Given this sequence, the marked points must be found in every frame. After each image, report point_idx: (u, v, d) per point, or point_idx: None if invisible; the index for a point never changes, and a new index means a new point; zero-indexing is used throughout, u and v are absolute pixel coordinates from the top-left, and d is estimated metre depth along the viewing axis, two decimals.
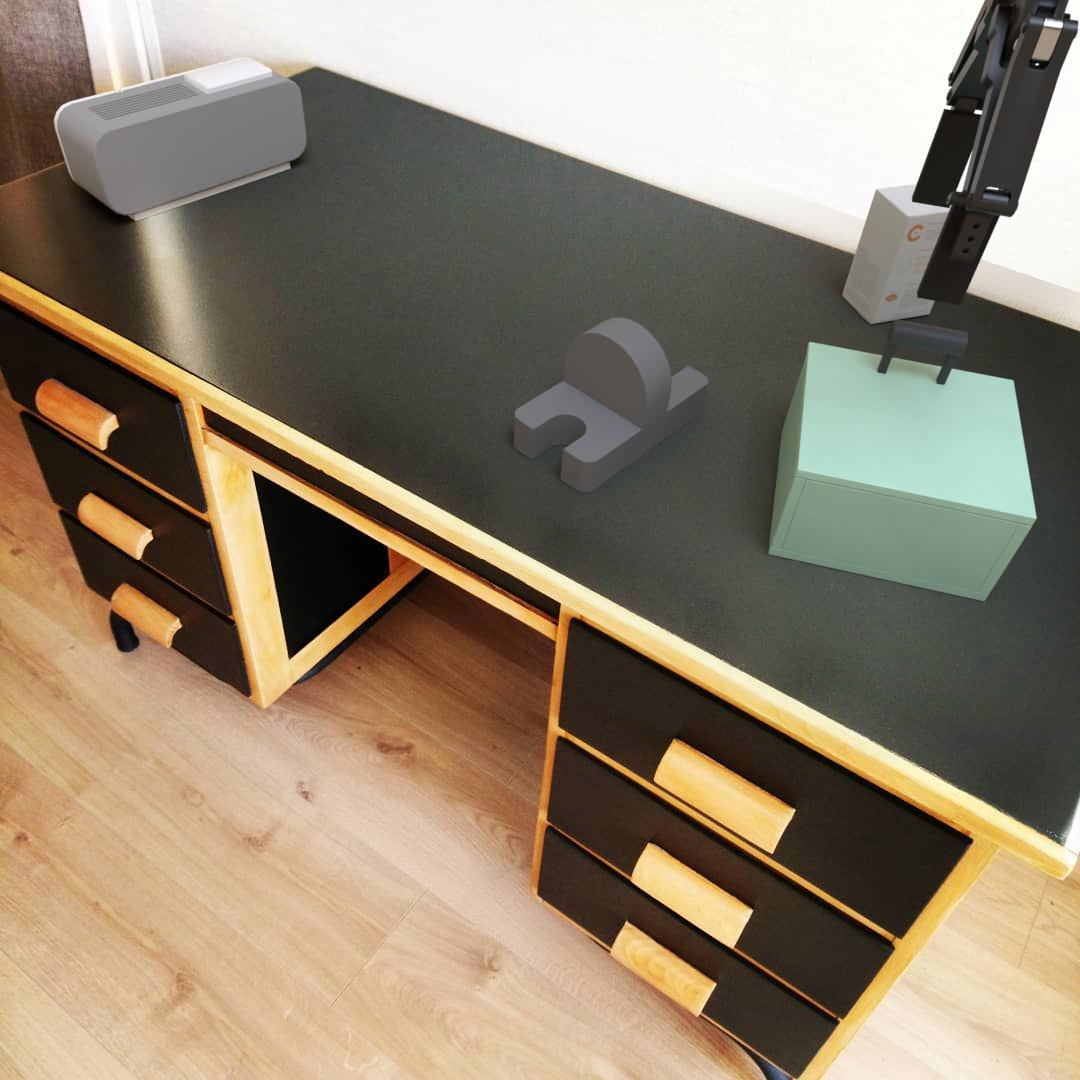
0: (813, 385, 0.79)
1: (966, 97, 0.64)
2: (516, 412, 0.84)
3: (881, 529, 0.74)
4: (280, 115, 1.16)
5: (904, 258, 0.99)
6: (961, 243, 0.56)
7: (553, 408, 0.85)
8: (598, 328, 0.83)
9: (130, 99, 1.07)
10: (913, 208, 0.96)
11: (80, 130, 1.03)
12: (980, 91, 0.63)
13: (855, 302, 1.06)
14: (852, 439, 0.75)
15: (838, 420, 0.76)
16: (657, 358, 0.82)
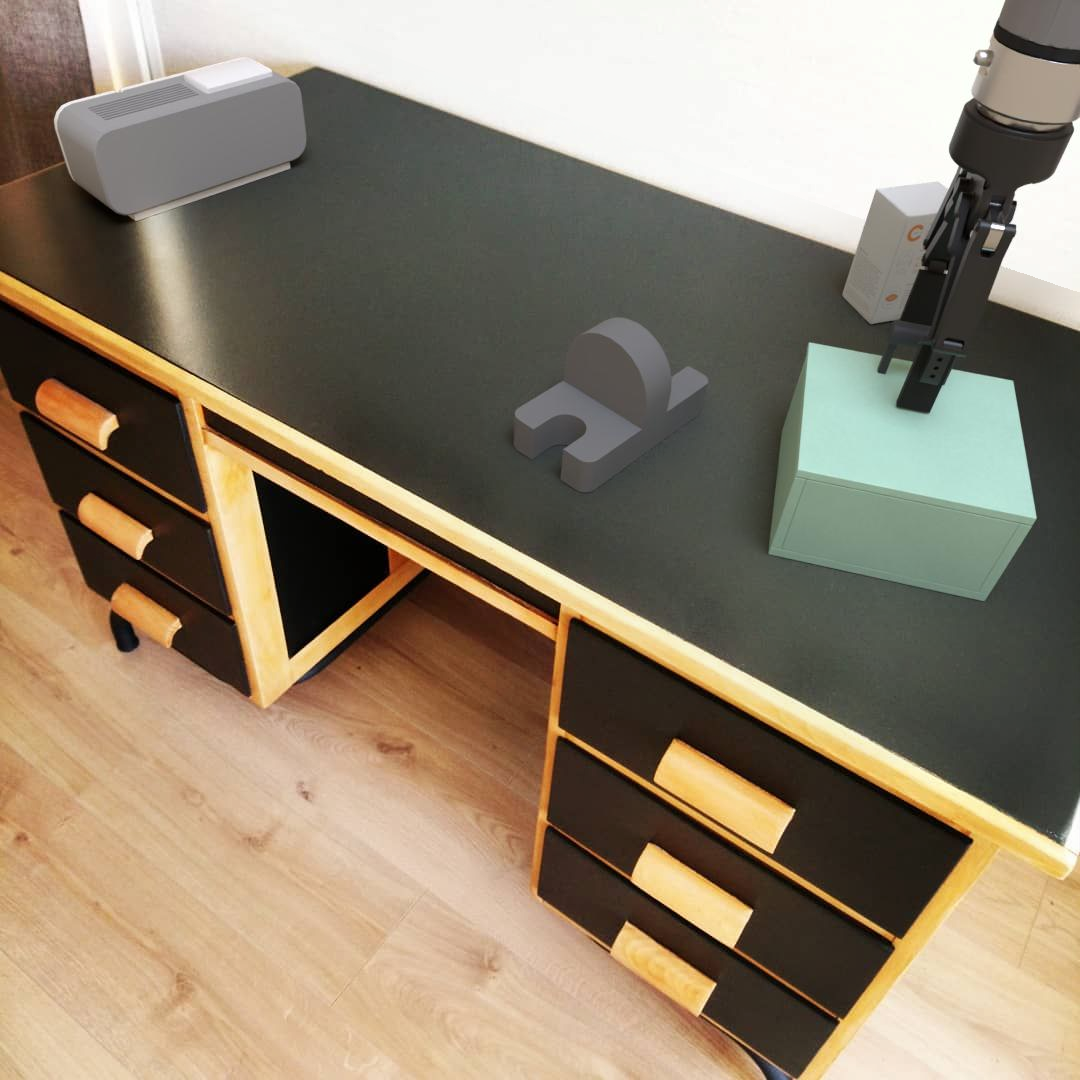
0: (813, 386, 0.79)
1: (937, 260, 0.80)
2: (516, 412, 0.84)
3: (881, 529, 0.74)
4: (280, 115, 1.16)
5: (904, 258, 0.99)
6: (929, 371, 0.74)
7: (553, 408, 0.85)
8: (598, 328, 0.83)
9: (130, 99, 1.07)
10: (913, 208, 0.96)
11: (80, 130, 1.03)
12: (949, 255, 0.78)
13: (855, 302, 1.06)
14: (852, 439, 0.75)
15: (838, 420, 0.76)
16: (657, 358, 0.82)
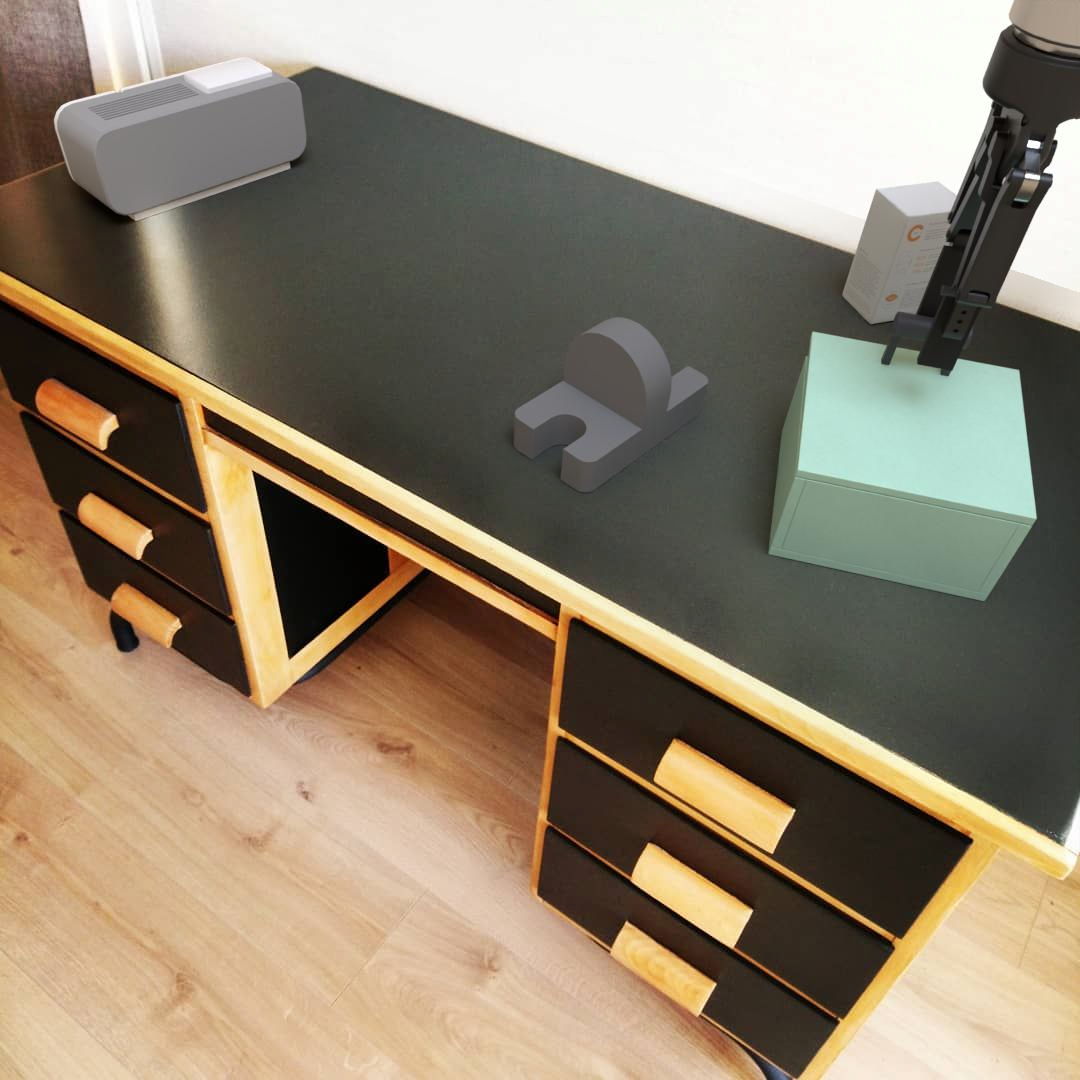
0: (815, 379, 0.79)
1: (964, 233, 0.73)
2: (516, 412, 0.84)
3: (881, 529, 0.74)
4: (280, 115, 1.16)
5: (904, 258, 0.99)
6: (952, 325, 0.70)
7: (553, 408, 0.85)
8: (598, 328, 0.83)
9: (130, 99, 1.07)
10: (913, 208, 0.96)
11: (80, 130, 1.03)
12: None
13: (855, 302, 1.06)
14: (853, 436, 0.75)
15: (839, 416, 0.76)
16: (657, 357, 0.82)
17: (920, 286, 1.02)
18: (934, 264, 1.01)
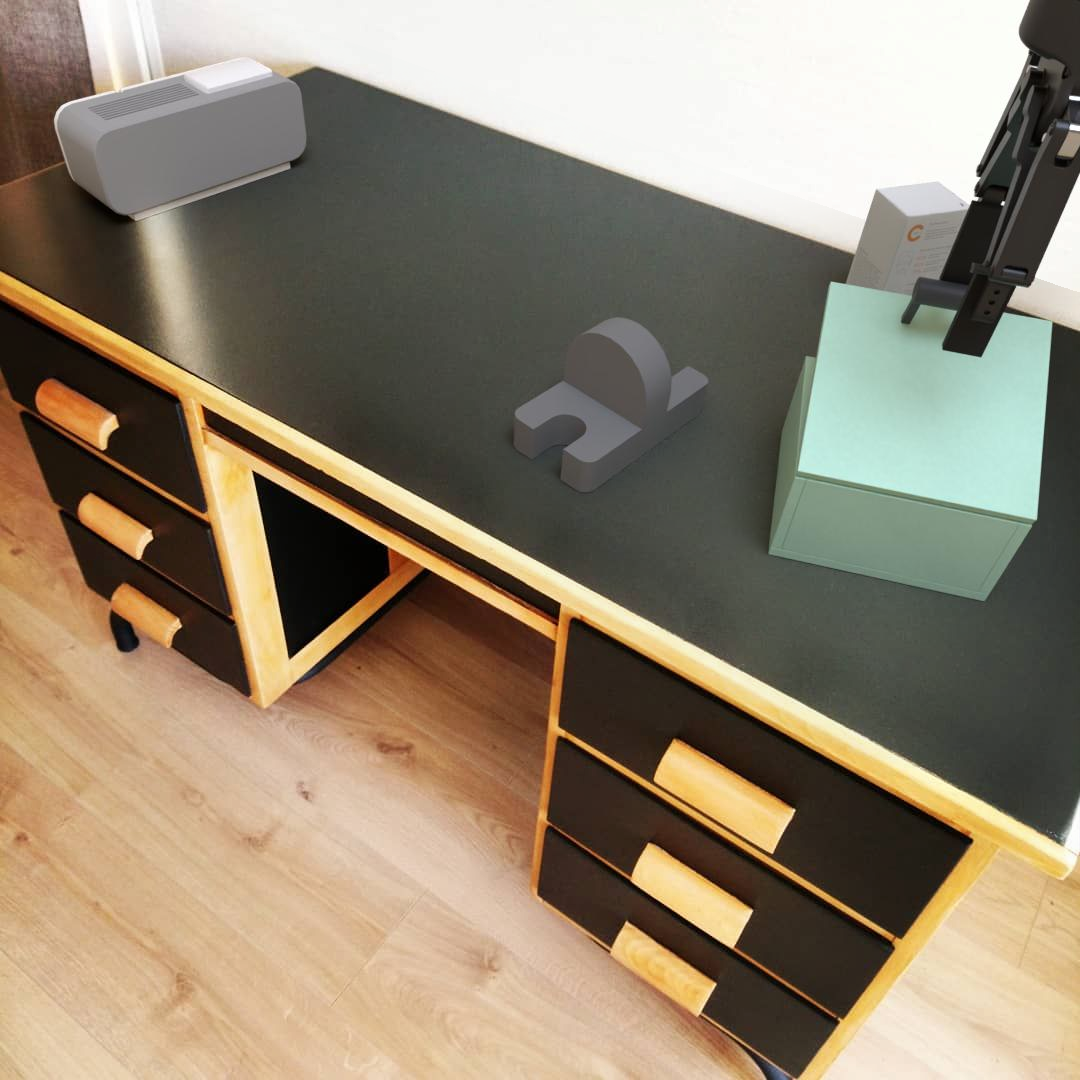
0: (827, 349, 0.76)
1: (994, 188, 0.67)
2: (516, 412, 0.84)
3: (881, 529, 0.74)
4: (280, 115, 1.16)
5: (904, 258, 0.99)
6: (983, 306, 0.62)
7: (553, 408, 0.85)
8: (598, 328, 0.83)
9: (130, 99, 1.07)
10: (913, 208, 0.96)
11: (80, 130, 1.03)
12: (1009, 179, 0.66)
13: None
14: (859, 424, 0.73)
15: (848, 398, 0.74)
16: (657, 358, 0.82)
17: None
18: (934, 264, 1.01)
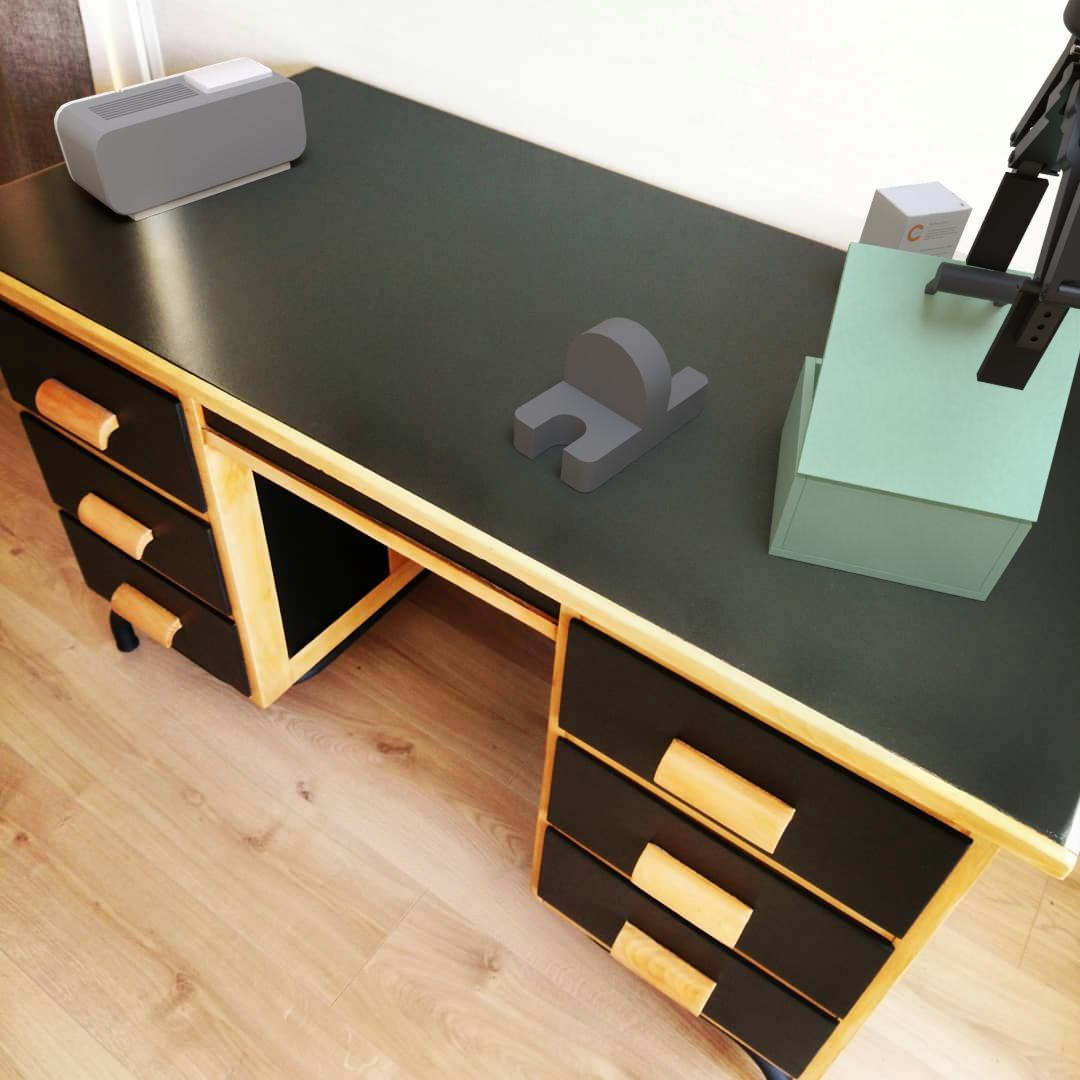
0: (839, 330, 0.71)
1: (1030, 161, 0.61)
2: (516, 412, 0.84)
3: (881, 529, 0.74)
4: (280, 115, 1.16)
5: None
6: (1030, 331, 0.52)
7: (553, 408, 0.85)
8: (598, 328, 0.83)
9: (130, 99, 1.07)
10: (913, 208, 0.96)
11: (80, 130, 1.03)
12: (1046, 157, 0.59)
13: None
14: (866, 419, 0.71)
15: (856, 389, 0.71)
16: (657, 357, 0.82)
17: None
18: None
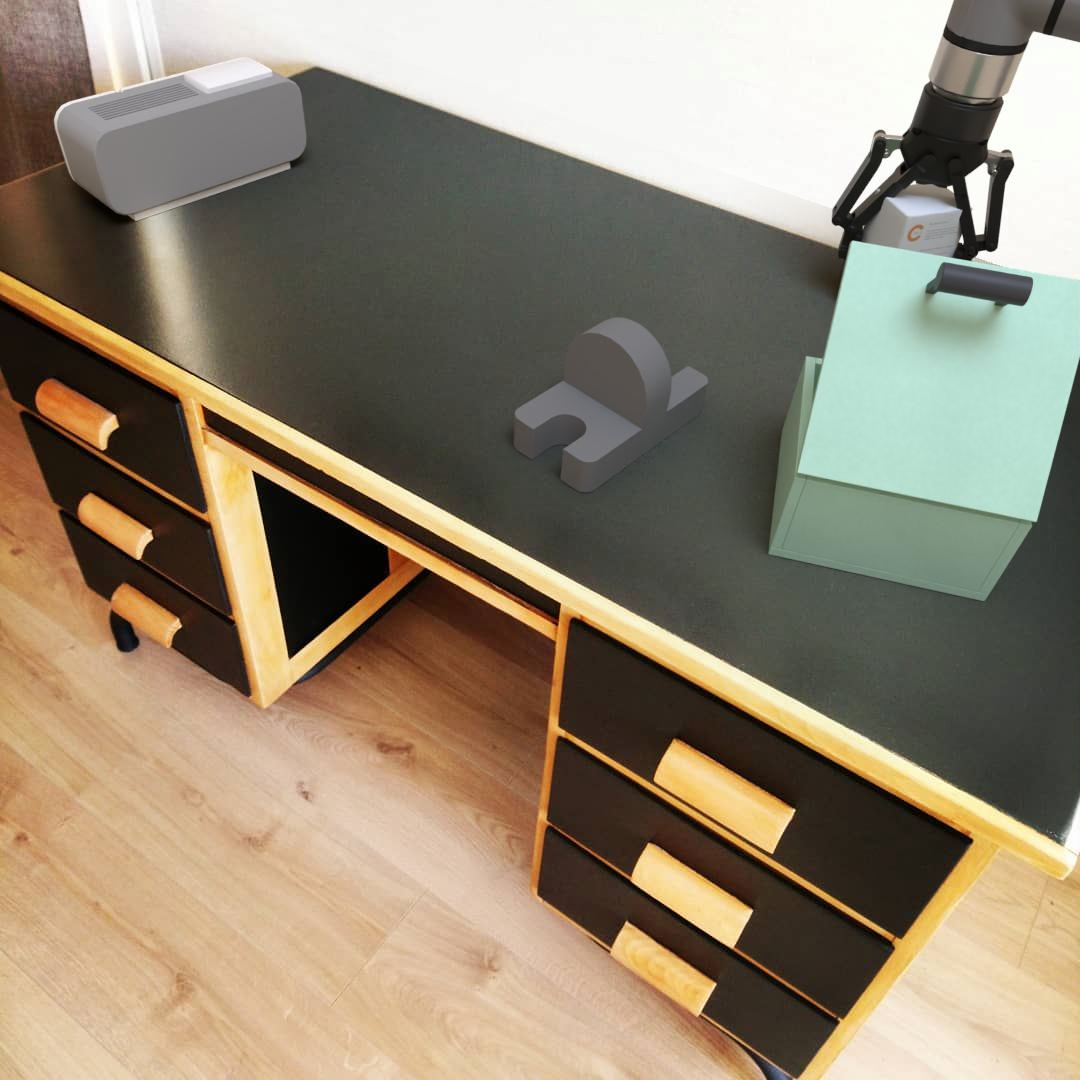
0: (840, 329, 0.71)
1: None
2: (516, 412, 0.84)
3: (881, 529, 0.74)
4: (280, 115, 1.16)
5: None
6: (840, 242, 1.04)
7: (553, 408, 0.85)
8: (598, 328, 0.83)
9: (130, 99, 1.07)
10: (913, 208, 0.96)
11: (80, 130, 1.03)
12: None
13: None
14: (866, 419, 0.71)
15: (857, 389, 0.71)
16: (657, 357, 0.82)
17: None
18: None
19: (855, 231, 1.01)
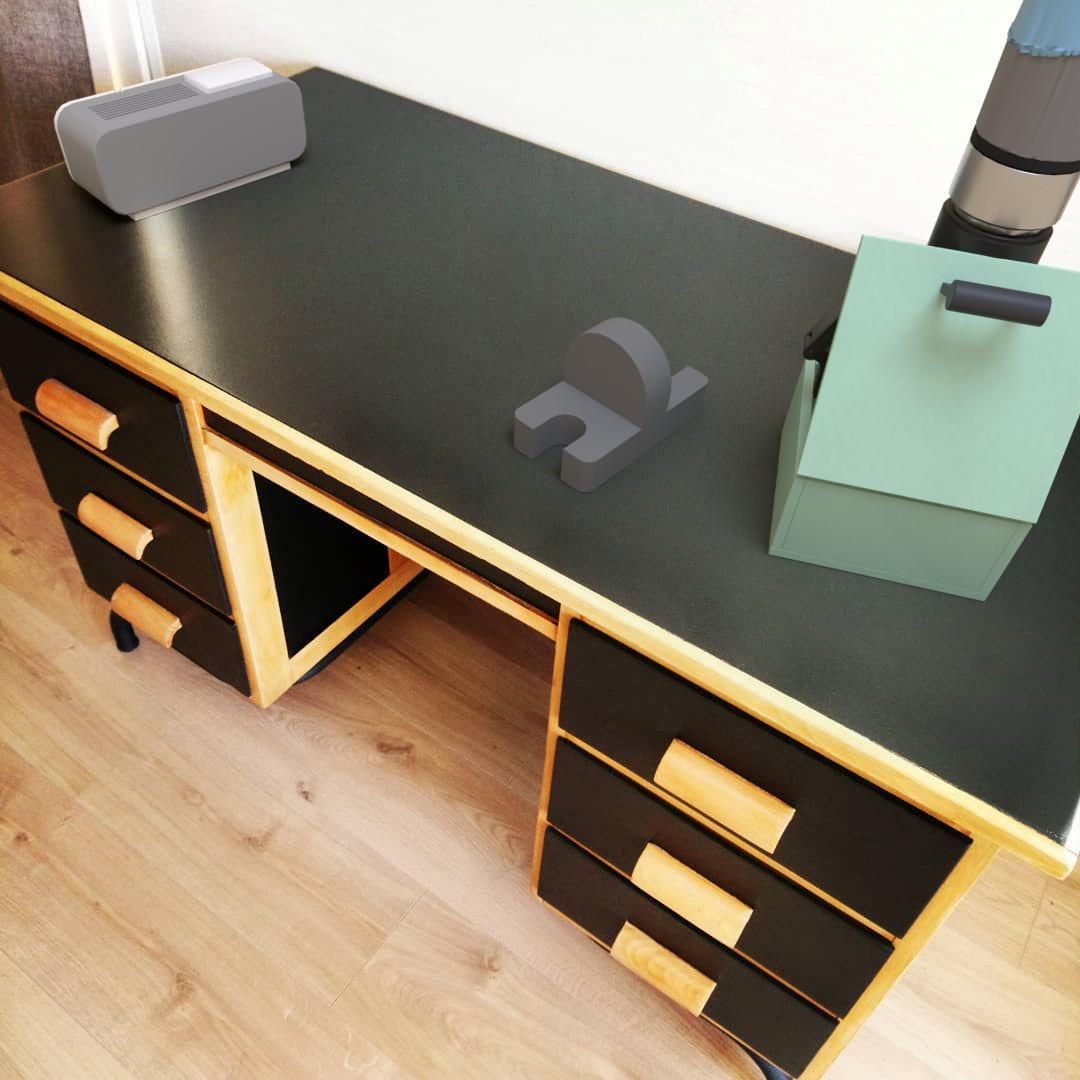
0: (846, 331, 0.67)
1: None
2: (516, 412, 0.84)
3: (881, 529, 0.74)
4: (280, 115, 1.16)
5: None
6: (815, 378, 0.78)
7: (553, 408, 0.85)
8: (598, 328, 0.83)
9: (130, 99, 1.07)
10: None
11: (80, 130, 1.03)
12: None
13: None
14: (869, 423, 0.69)
15: (861, 392, 0.69)
16: (657, 357, 0.82)
17: None
18: None
19: None
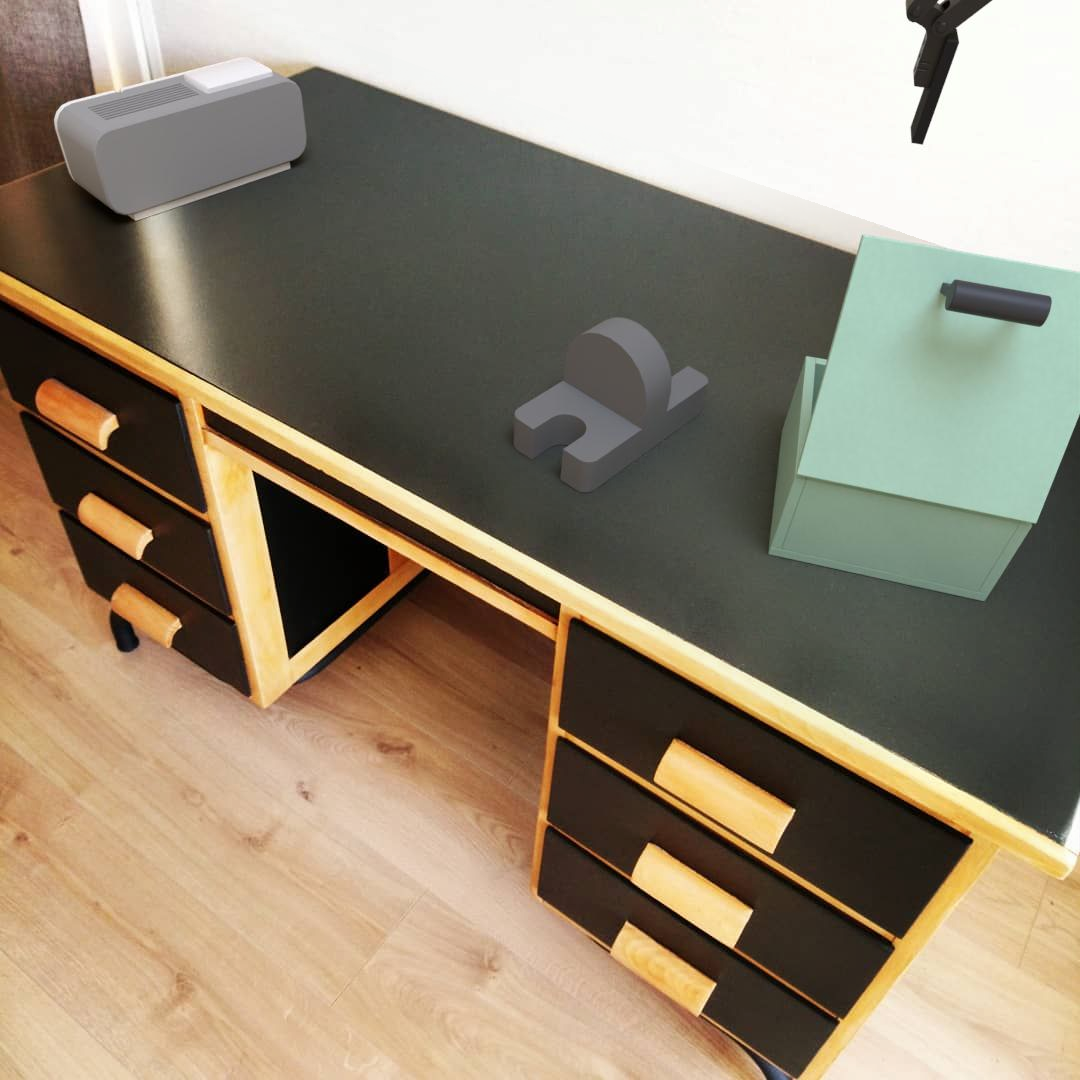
0: (846, 331, 0.67)
1: None
2: (516, 412, 0.84)
3: (881, 529, 0.74)
4: (280, 115, 1.16)
5: None
6: (917, 60, 0.62)
7: (553, 408, 0.85)
8: (598, 328, 0.83)
9: (130, 99, 1.07)
10: None
11: (80, 130, 1.03)
12: None
13: None
14: (869, 423, 0.69)
15: (861, 392, 0.69)
16: (657, 357, 0.82)
17: None
18: None
19: (945, 32, 0.59)
